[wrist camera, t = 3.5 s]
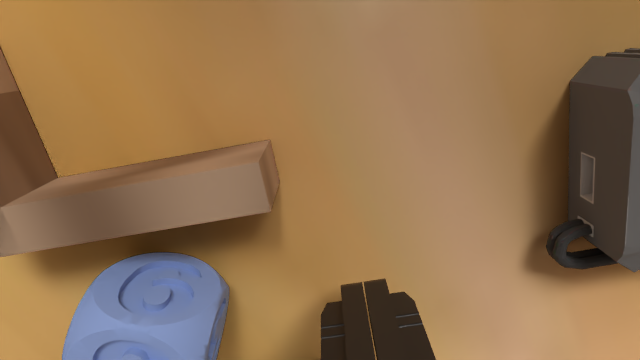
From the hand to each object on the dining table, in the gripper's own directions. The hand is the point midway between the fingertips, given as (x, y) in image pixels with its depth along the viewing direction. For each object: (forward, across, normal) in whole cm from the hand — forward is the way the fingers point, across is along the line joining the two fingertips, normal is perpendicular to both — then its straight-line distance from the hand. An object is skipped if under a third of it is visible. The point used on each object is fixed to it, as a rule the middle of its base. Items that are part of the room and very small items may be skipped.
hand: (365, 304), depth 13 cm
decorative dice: (+2, +7, 0) cm, 8 cm away
